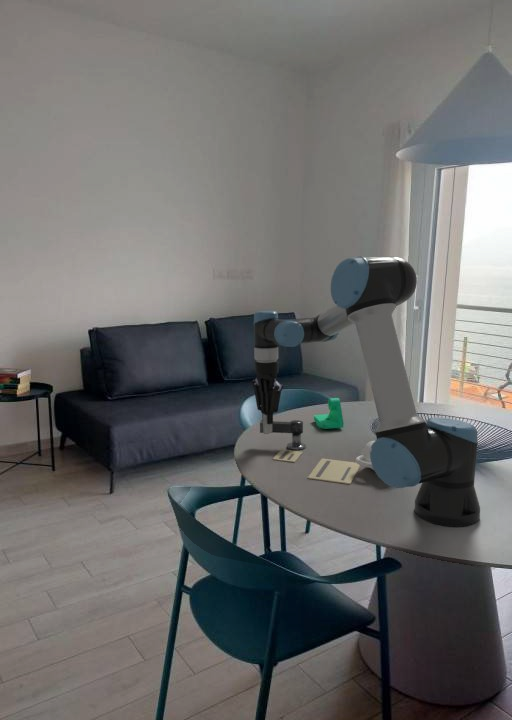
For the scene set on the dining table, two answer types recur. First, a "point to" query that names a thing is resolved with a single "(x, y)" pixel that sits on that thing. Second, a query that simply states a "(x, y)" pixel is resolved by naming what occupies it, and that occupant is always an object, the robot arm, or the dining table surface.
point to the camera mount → (331, 416)
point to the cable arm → (285, 427)
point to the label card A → (288, 455)
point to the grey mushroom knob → (296, 443)
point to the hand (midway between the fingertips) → (267, 433)
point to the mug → (365, 456)
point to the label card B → (334, 471)
